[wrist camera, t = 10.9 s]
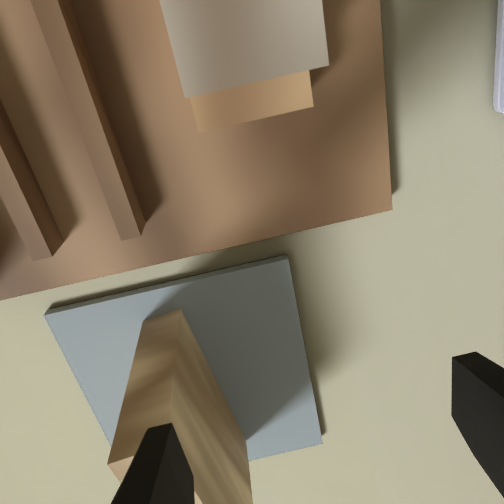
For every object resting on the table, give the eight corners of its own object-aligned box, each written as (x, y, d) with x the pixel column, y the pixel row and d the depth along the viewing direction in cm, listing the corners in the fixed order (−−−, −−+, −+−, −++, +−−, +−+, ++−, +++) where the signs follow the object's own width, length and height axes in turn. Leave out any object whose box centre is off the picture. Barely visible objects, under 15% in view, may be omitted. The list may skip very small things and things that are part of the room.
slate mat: (286, 254, 20) (288, 258, 20) (320, 437, 26) (322, 443, 25) (47, 309, 20) (43, 315, 19) (133, 480, 25) (132, 488, 25)
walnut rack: (344, -383, 12) (463, -772, 6) (383, 202, 19) (452, 256, 14) (-342, -230, 12) (-826, -492, 6) (-28, 297, 19) (-121, 389, 14)
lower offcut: (265, -126, 13) (277, -166, 11) (298, 100, 16) (313, 106, 14) (143, -99, 13) (131, -132, 11) (200, 123, 16) (198, 132, 14)
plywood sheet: (180, 308, 20) (166, 445, 13) (246, 440, 24) (262, 599, 17) (142, 321, 20) (107, 464, 13) (214, 450, 24) (218, 613, 17)
